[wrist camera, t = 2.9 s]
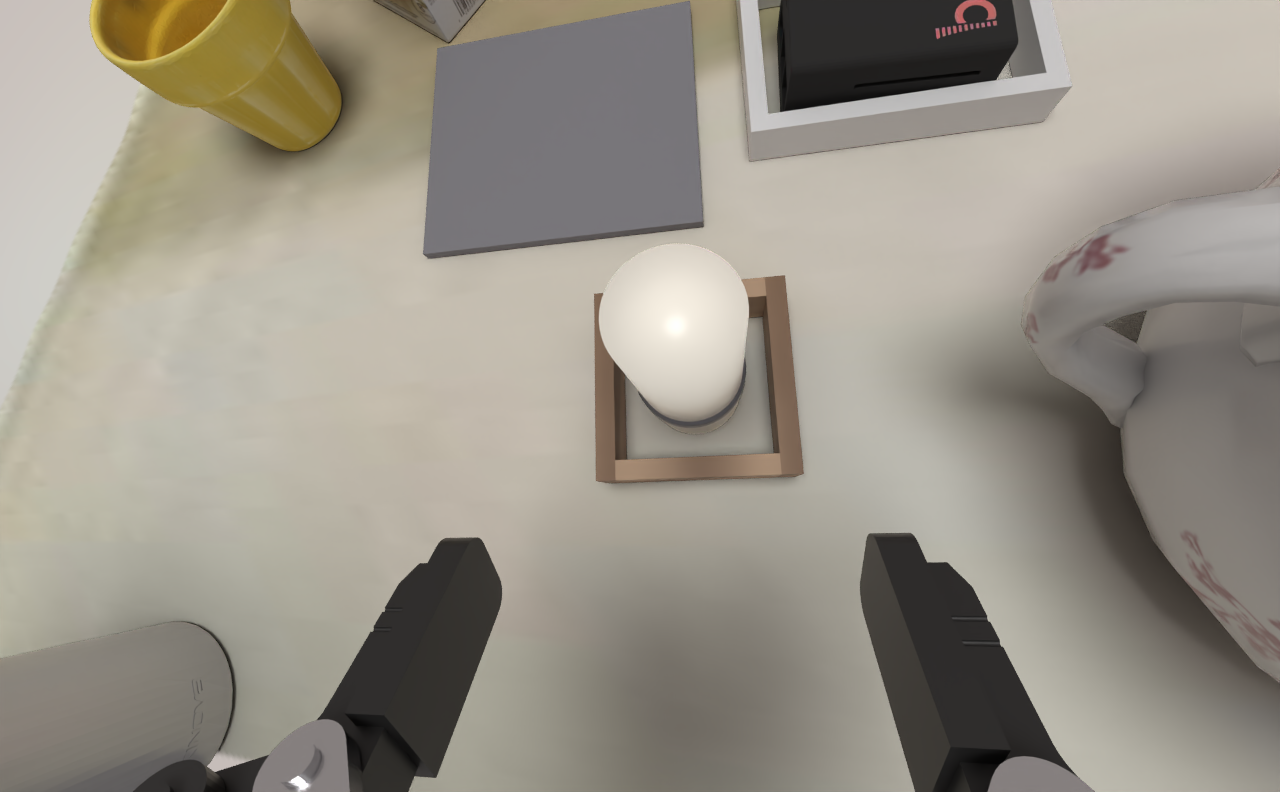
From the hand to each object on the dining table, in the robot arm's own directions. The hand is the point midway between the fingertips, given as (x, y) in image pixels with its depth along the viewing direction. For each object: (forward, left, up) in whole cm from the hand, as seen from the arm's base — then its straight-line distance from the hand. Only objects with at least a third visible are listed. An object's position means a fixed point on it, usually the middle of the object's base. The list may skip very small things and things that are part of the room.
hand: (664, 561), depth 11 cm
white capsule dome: (0, +7, -17) cm, 18 cm away
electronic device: (+11, +26, -17) cm, 33 cm away
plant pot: (-28, +30, -17) cm, 45 cm away
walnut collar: (0, +7, -17) cm, 18 cm away
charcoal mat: (-8, +25, -17) cm, 31 cm away
